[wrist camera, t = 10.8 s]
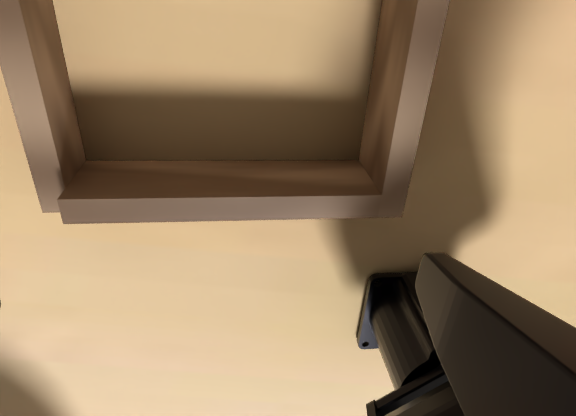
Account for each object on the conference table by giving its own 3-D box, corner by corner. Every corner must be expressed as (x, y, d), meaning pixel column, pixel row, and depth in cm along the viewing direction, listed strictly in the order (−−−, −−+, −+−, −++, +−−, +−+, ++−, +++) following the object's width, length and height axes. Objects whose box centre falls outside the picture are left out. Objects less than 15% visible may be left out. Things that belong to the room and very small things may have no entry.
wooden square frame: (376, 180, 23) (402, 217, 20) (65, 182, 21) (33, 224, 18) (448, -230, 15) (513, -288, 11) (-51, -292, 13) (-155, -387, 9)
